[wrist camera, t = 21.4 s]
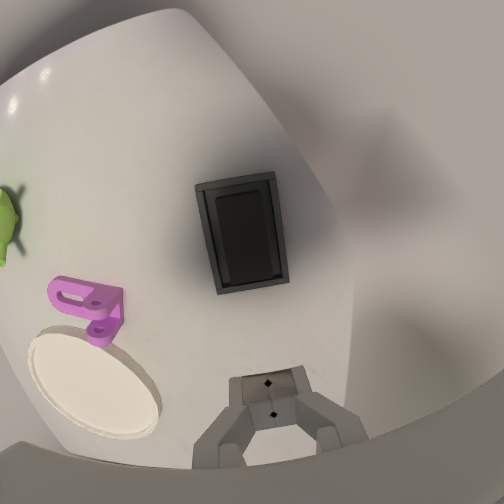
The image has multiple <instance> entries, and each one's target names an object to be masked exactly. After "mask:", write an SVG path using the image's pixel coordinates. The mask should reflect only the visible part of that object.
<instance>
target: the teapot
mask: <svg viewBox="0 0 504 504" xmlns="http://www.w3.org/2000/svg"><path fill="white" fill-rule="evenodd" d="M18 220H19V217H18V214H17V213H16V212H14V208H13V205H12V202H11V200H10V198H9V197H8V194H7V192H4V191H3V190H2V189H0V266H1V267H3V266H5V265H6V253H7V244H8V243H9V242H10V240H11V238H12V235H13V232H14V227H15V223H17V222H18Z"/></svg>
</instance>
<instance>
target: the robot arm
mask: <svg viewBox="0 0 504 504" xmlns="http://www.w3.org/2000/svg"><path fill="white" fill-rule="evenodd" d="M294 424H297V425H298V426H299V427H300V428H302V429H303V430H304V431H305V432H306V433H307V434H309V435H310V436H311V437H312V438H313V439H314V440H316V441H317V449H316V455H312V456H308V457H303V458H299V459H294V460H288V461H282V462H276V463H270V464H263V465H255V466H247V465H246V462H245V460H244V458H243V453H244V451H245V450H246V448H247V446H248V444H249V443H250V441H251V439H252V437H253V436H254V434H255V431H259V430H265V429H270V428H275V427H282V426H288V425H294ZM0 504H504V369H503V370H502V371H501V372H499V373H498V374H496V375H495V376H493V377H492V378H491V379H489V380H488V381H486V382H485V383H483V384H482V385H480V386H478V387H477V388H475V389H474V390H472V391H470V392H469V393H467V394H466V395H464V396H462V397H460V398H459V399H457V400H455V401H453V402H452V403H450V404H448V405H446V406H444V407H442V408H441V409H439V410H437V411H435V412H433V413H431V414H429V415H427V416H424V417H422V418H420V419H418V420H416V421H414V422H411V423H409V424H407V425H405V426H403V427H400V428H397V429H395V430H393V431H390V432H387V433H385V434H383V435H379V436H377V437H374V438H371V439H369V438H368V436H367V433H366V431H365V429H364V427H363V424H362V423H361V420H360V418H359V416H357V415H355V414H353V413H352V412H350V411H348V410H346V409H345V408H343V407H341V406H339V405H338V404H336V403H334V402H333V401H331V400H329V399H327V398H326V397H324V396H323V395H321V394H319V393H318V392H312V389H311V386H310V383H309V380H308V377H307V374H306V372H305V369H304V366H303V365H302V366H297V367H293V368H291V369H290V368H289V369H284V370H279V371H273V372H268V373H262V374H255V375H247V376H242V377H233V378H230V379H229V407H225V409H224V410H223V411H222V412H221V413H220V415H219V416H218V417H217V418H216V419H215V421H214V422H213V423H212V424H211V425H210V427H209V428H208V429H207V430H206V431H205V432H204V434H203V435H202V436H201V437H200V438H199V439H198V440H197V442H196V443H195V444H194V449H193V460H192V469H160V468H146V467H136V466H126V465H119V464H112V463H106V462H100V461H95V460H90V459H85V458H80V457H76V456H72V455H68V454H64V453H60V452H56V451H53V450H49V449H46V448H43V447H40V446H37V445H34V444H31V443H28V442H25V441H20V442H18V443H16V444H14V445H12V446H10V447H8V448H7V449H5V450H3V451H2V452H0Z"/></svg>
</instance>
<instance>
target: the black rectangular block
mask: <svg viewBox="0 0 504 504" xmlns="http://www.w3.org/2000/svg"><path fill="white" fill-rule="evenodd" d="M215 205H216V210H217V215H218V221H219V226H220V231H221V236H222V241H223V246H224V252H225V257H226V262H227V266H228V271H229V276H230V281H231V285H234V284H240V283H246V282H252V281H258V280H264V279H269V278H273V270H272V263H271V256H270V249H269V242H268V236H267V229H266V222H265V216H264V209H263V203H262V196H261V192H260V191H259V190H254V191H248V192H242V193H236V194H231V195H225V196H219V197H216V199H215Z"/></svg>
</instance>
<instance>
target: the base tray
mask: <svg viewBox="0 0 504 504" xmlns="http://www.w3.org/2000/svg"><path fill="white" fill-rule="evenodd" d="M275 178H276V176H275V172H273V171H271V172H264V173H258V174H251V175H245V176H239V177H233V178H228V179H222V180H217V181H211V182H206V183H201V184H197V185H195V191H196V197H197V202H198V207H199V212H200V217H201V222H202V227H203V232H204V236H205V241H206V246H207V251H208V255H209V260H210V264H211V269H212V273H213V278H214V282H215V286H216V291H217V295H221V294H227V293H233V292H239V291H245V290H251V289H256V288H262V287H268V286H273V285H279V284H284V283H289V282H290V281H289V273H288V264H287V256H286V248H285V241H284V233H283V225H282V218H281V211H280V204H279V197H278V190H277V183H276V179H275ZM254 190H259V191H260V192H261V196H262V203H263V209H264V216H265V222H266V229H267V236H268V242H269V249H270V256H271V263H272V270H273V278H269V279H264V280H258V281H252V282H246V283H240V284H234V285H231V281H230V276H229V271H228V266H227V262H226V257H225V252H224V246H223V241H222V236H221V231H220V226H219V221H218V215H217V210H216V205H215V199H216V197H219V196H225V195H231V194H236V193H242V192H248V191H254Z"/></svg>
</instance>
